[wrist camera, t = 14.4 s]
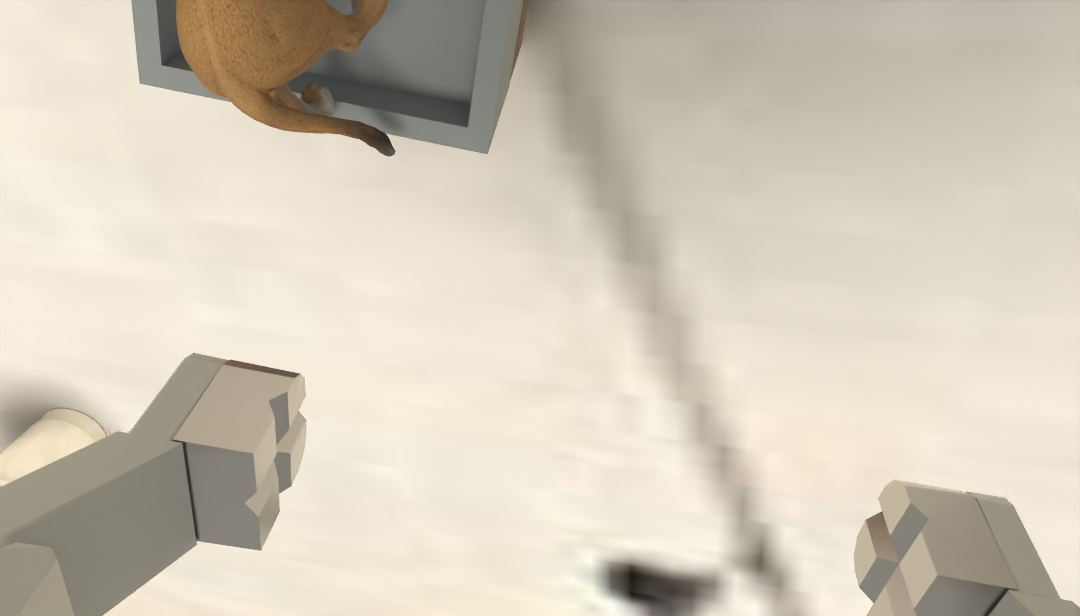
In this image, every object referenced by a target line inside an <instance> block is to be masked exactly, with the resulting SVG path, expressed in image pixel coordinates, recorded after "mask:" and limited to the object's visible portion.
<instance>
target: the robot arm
mask: <svg viewBox="0 0 1080 616" xmlns="http://www.w3.org/2000/svg"><path fill="white" fill-rule="evenodd" d="M305 396H306V394H305V378H304V377H303V376H302V375H301V374H299V373H294V372H289V371H284V370H279V369H274V368H269V367H264V366H259V365H254V364H249V363H244V362H239V361H234V360H225V359H220V358H216V357H211V356H206V355H201V354H196V353H193V354H192V355H190V356H188V357H186V358H185V359H184V360H183V361H182V362H181V364H180V365H179V366H178V368H177V369H176V370H175V372H174V373H173V374H172V376H171V377H170V378H169V380H168V381H167V382H166V384H165V385H164V386H163V388H162V389H161V390H160V392H159V393H158V394H157V396H156V397H155V399H154V400H153V401H152V403H151V404H150V405H149V407H148V408H147V409H146V411H145V412H144V413H143V415H142V416H141V417H140V419H139V420H138V421H137V423H136V424H135V425H134V427H133V428H132V429H131V431H130V432H129V433H124V432H115V433H113V434H111V435H109V436H107V437H105V438H103V439H101V440H99V441H96V442H94V443H92V444H90V445H88V446H86V447H84V448H82V449H80V450H77V451H75V452H73V453H71V454H69V455H67V456H65V457H63V458H61V459H58V460H56V461H54V462H52V463H50V464H48V465H46V466H44V467H42V468H39V469H37V470H35V471H33V472H31V473H29V474H27V475H25V476H23V477H20V478H18V479H16V480H14V481H12V482H10V483H8V484H6V485H4V486H1V487H0V616H103V615H104V614H105V613H107V612H108V611H109V610H111V609H112V608H113V607H115V606H116V605H117V604H119V603H120V602H121V601H122V600H124V599H125V598H126V597H128V596H129V595H130V594H132V593H133V592H134V591H136V590H137V589H138V588H140V587H141V586H142V585H144V584H145V583H146V582H148V581H149V580H150V579H152V578H153V577H154V576H156V575H157V574H158V573H160V572H161V571H162V570H164V569H165V568H166V567H168V566H169V565H170V564H172V563H173V562H174V561H176V560H177V559H178V558H180V557H181V556H182V555H184V554H185V553H186V552H188V551H189V550H190V549H192V548H193V547H194V546H196V545H197V541H201V542H207V543H214V544H221V545H227V546H234V547H241V548H247V549H254V550H262V547H263V545H264V543H265V541H266V539H267V537H268V535H269V533H270V531H271V528H272V526H273V524H274V522H275V520H276V518H277V516H278V514H279V512H280V510H279V493H281V492H283V491H284V490H286V489H287V488H289V487H291V486H292V484H293V481H294V479H295V477H296V474H297V472H298V470H299V467H300V463H301V459H302V456H303V452H304V448H305V440H306V419H305V418H304V417H303V416H302V414H301V413H300V412H299V408H300V406H301V404H302V402H303V400H304V398H305ZM878 499H879V502H880V506H881V509H882V512H880V513H878V514H876V515H874V516H872V517H870V518H869V519H867V520H865V522H864V524H863V526H862V528H861V530H860V532H859V534H858V536H857V541H856V547H855V553H854V563H855V573H856V577H857V581H858V585H859V587H860V589H861V590H862V591H863V592H864V593H865V594H866V595H867V596H868V597H869V598H870V599H871V601H872V602H873V603H874V604H873V606H872V607H871V609H870V611H869V612H868V614H867V616H1080V608H1079V607H1078V606H1077V605H1076V604H1075V603H1074V602H1072V601H1068V600H1063V599H1060V597H1059V595H1058V593H1057V591H1056V589H1055V587H1054V585H1053V583H1052V581H1051V579H1050V577H1049V575H1048V573H1047V571H1046V569H1045V567H1044V565H1043V563H1042V561H1041V559H1040V557H1039V555H1038V553H1037V551H1036V549H1035V547H1034V545H1033V543H1032V541H1031V539H1030V537H1029V536H1028V534H1027V532H1026V530H1025V528H1024V526H1023V524H1022V522H1021V520H1020V518H1019V516H1018V514H1017V512H1016V510H1015V508H1014V506H1013V505H1012V504H1011V503H1010V502H1009V501H1008V500H1007V499H1005V498H1003V497H997V496H991V495H984V494H978V493H972V492H963V491H958V490H952V489H946V488H940V487H934V486H928V485H922V484H917V483H911V482H905V481H899V480H893V481H892V482H890V483H889V484H888V485H886V486H885V488H884V490H883V491H882V493H881V495H880V496H879V498H878Z"/></svg>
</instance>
